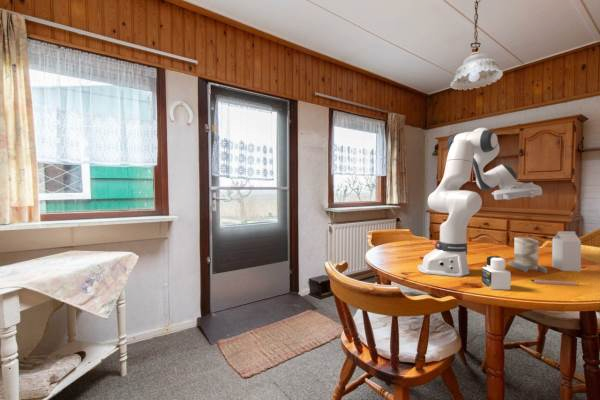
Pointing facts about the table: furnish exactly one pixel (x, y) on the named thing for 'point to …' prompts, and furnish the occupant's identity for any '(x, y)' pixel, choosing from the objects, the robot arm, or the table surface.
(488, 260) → the medicine bottle
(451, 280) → the table surface
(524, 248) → the block
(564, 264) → the milk carton
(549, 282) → the chute
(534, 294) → the table surface
